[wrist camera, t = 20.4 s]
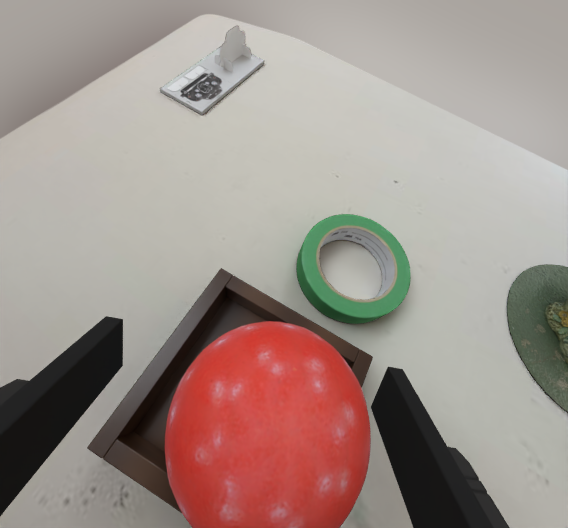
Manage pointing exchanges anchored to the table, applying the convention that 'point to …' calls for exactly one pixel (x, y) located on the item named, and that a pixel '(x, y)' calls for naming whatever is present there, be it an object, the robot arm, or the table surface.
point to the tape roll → (382, 249)
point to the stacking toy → (267, 432)
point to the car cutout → (214, 74)
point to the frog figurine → (542, 326)
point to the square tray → (172, 366)
